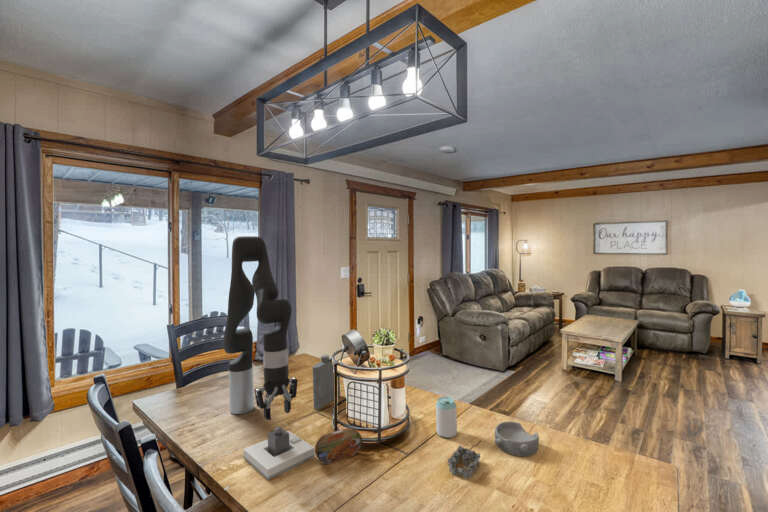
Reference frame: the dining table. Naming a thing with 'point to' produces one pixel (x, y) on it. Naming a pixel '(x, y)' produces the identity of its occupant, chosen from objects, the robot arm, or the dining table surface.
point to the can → (446, 417)
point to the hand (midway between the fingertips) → (277, 415)
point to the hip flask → (323, 382)
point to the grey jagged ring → (464, 462)
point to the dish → (515, 439)
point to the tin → (338, 445)
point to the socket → (282, 462)
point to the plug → (278, 441)
